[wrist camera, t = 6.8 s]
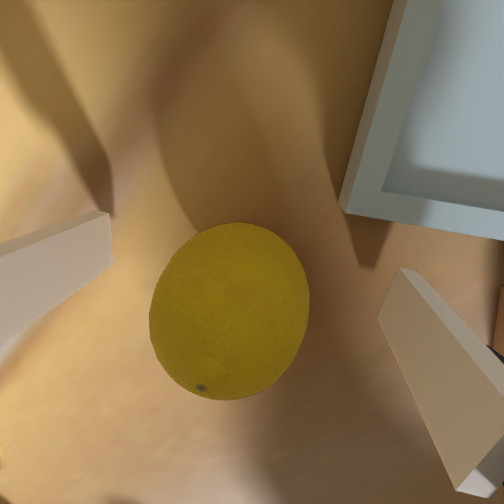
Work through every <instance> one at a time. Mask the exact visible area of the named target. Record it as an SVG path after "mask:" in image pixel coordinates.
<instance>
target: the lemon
mask: <svg viewBox="0 0 504 504" xmlns="http://www.w3.org/2000/svg"><path fill="white" fill-rule="evenodd" d="M309 305H310V293H309V288H308V283H307V279H306V274H305V271H304V268H303V267H302V265H301V263H300V261H299V259H298V257H297V255H296V254H295V252H294V251H293V250H292V248H291V247H290V246H289V245H288V244H287V243H286V242H285V241H284V240H283V239H282V238H281V237H280V236H278V235H276V234H275V233H273V232H272V231H270V230H269V229H266V228H263V227H260V226H257V225H254V224H249V223H238V222H234V223H228V224H222V225H217V226H214V227H212V228H210V229H208V230H205V231H203V232H201V233H199V234H197V235H196V236H194V237H193V238H192V239H191V240H190V241H188V242H187V243H186V244H185V245H184V246H182V247H181V248H180V249H179V250H178V251H177V252H176V253H175V254H174V256H173V257H172V259H171V260H170V262H169V263H168V265H167V267H166V268H165V270H164V271H163V273H162V275H161V277H160V278H159V280H158V283H157V285H156V288H155V291H154V295H153V299H152V303H151V307H150V312H149V327H150V339H151V342H152V345H153V348H154V350H155V353H156V356H157V358H158V360H159V362H160V363H161V365H162V366H163V368H164V369H165V371H166V372H167V373H168V375H169V376H170V377H171V378H172V379H173V380H174V381H175V382H176V383H178V384H179V385H180V386H182V387H183V388H185V389H186V390H188V391H190V392H192V393H194V394H196V395H199V396H202V397H205V398H209V399H214V400H234V399H241V398H245V397H248V396H251V395H254V394H257V393H259V392H261V391H262V390H264V389H266V388H267V387H269V386H270V385H272V384H273V383H275V382H276V381H277V380H278V379H279V378H280V377H281V376H282V375H283V374H284V372H285V371H286V370H287V369H288V368H289V366H290V365H291V364H292V362H293V361H294V359H295V357H296V355H297V352H298V350H299V348H300V345H301V343H302V340H303V338H304V335H305V332H306V328H307V324H308V316H309Z"/></svg>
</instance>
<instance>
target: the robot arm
mask: <svg viewBox="0 0 504 504" xmlns="http://www.w3.org/2000/svg"><path fill="white" fill-rule="evenodd" d="M112 266H114V263H113V252H112V240H111V228H110V217H109V213H106V212H100V211H95V210H93V211H90V212H88V213H85V214H82V215H79V216H77V217H74V218H71V219H68V220H65V221H63V222H60V223H57V224H54V225H52V226H49V227H46V228H43V229H40V230H38V231H35V232H32V233H29V234H27V235H24V236H21V237H18V238H15V239H13V240H10V241H7V242H4V243H2V244H0V345H2V344H3V343H5V342H6V341H7V340H9V339H10V338H12V337H13V336H14V335H16V334H17V333H19V332H20V331H22V330H23V329H24V328H26V327H27V326H29V325H30V324H31V323H33V322H34V321H36V320H37V319H39V318H40V317H41V316H43V315H44V314H46V313H47V312H48V311H50V310H51V309H53V308H54V307H56V306H57V305H58V304H60V303H61V302H63V301H64V300H66V299H67V298H68V297H70V296H71V295H73V294H74V293H75V292H77V291H78V290H80V289H81V288H83V287H84V286H85V285H87V284H88V283H90V282H91V281H92V280H94V279H95V278H97V277H98V276H100V275H101V274H102V273H104V272H105V271H107V270H108V269H109V268H111V267H112ZM377 320H378V322H379V325H380V327H381V329H382V331H383V333H384V336H385V338H386V340H387V342H388V344H389V346H390V349H391V351H392V353H393V355H394V357H395V360H396V362H397V364H398V366H399V368H400V371H401V373H402V375H403V377H404V379H405V381H406V384H407V386H408V388H409V390H410V392H411V395H412V397H413V399H414V401H415V403H416V406H417V408H418V410H419V412H420V414H421V416H422V419H423V421H424V423H425V425H426V427H427V430H428V432H429V434H430V436H431V438H432V441H433V443H434V445H435V447H436V449H437V451H438V454H439V456H440V458H441V460H442V462H443V465H444V467H445V469H446V471H447V473H448V476H449V478H450V480H451V482H452V484H453V486H454V489H455V491H459V492H463V493H467V494H471V495H475V496H479V497H483V498H487V499H489V498H490V497H491V496H492V495H493V494H494V493H495V492H496V491H497V490H498V489H499V488H500V487H501V486H502V485H504V357H503V356H502V355H501V354H499V353H498V352H497V351H495V350H494V349H492V348H491V347H490V346H488V345H485V344H484V342H483V341H482V340H481V339H480V338H479V337H478V336H477V335H476V334H475V333H474V332H473V331H472V330H471V328H470V327H469V326H468V325H467V324H466V323H465V322H464V321H463V320H462V319H461V318H460V317H459V315H458V314H457V313H456V312H455V311H454V310H453V309H452V308H451V307H450V306H449V305H448V304H447V303H446V301H445V300H444V299H443V298H442V297H441V296H440V295H439V294H438V293H437V292H436V291H435V290H434V288H433V287H432V286H431V285H430V284H429V283H428V282H427V281H426V280H425V279H424V278H423V277H422V276H421V274H420V273H419V272H418V271H416V270H411V269H406V268H400V267H398V269H397V272H396V274H395V277H394V279H393V281H392V284H391V286H390V289H389V291H388V293H387V296H386V298H385V301H384V303H383V305H382V308H381V310H380V312H379V315H378V317H377Z"/></svg>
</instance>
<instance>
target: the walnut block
mask: <svg viewBox="0 0 504 504" xmlns="http://www.w3.org/2000/svg"><path fill="white" fill-rule="evenodd" d="M492 349H494V350H495V351H497V352H498V353H499V354H501V355H502V356H503V357H504V285H501V291H500V298H499V305H498V312H497V319H496V325H495V332H494V339H493V346H492Z"/></svg>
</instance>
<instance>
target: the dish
mask: <svg viewBox="0 0 504 504" xmlns="http://www.w3.org/2000/svg"><path fill="white" fill-rule="evenodd" d="M338 203H339V205H340V206H341V208H342V209H343V210H344V212H345V213H348V214H354V215H360V216H365V217H371V218H377V219H383V220H388V221H394V222H400V223H405V224H411V225H417V226H422V227H428V228H434V229H440V230H445V231H451V232H457V233H462V234H468V235H474V236H480V237H485V238H491V239H497V240H502V241H504V0H393V4H392V8H391V11H390V15H389V18H388V22H387V26H386V29H385V33H384V37H383V40H382V44H381V47H380V51H379V55H378V58H377V62H376V65H375V69H374V73H373V76H372V80H371V84H370V87H369V91H368V94H367V98H366V102H365V105H364V109H363V112H362V116H361V120H360V123H359V127H358V131H357V134H356V138H355V141H354V145H353V149H352V152H351V156H350V160H349V163H348V167H347V170H346V174H345V178H344V181H343V185H342V188H341V192H340V196H339V199H338Z"/></svg>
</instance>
